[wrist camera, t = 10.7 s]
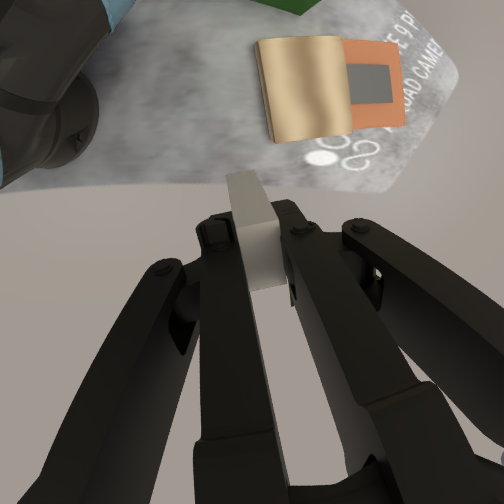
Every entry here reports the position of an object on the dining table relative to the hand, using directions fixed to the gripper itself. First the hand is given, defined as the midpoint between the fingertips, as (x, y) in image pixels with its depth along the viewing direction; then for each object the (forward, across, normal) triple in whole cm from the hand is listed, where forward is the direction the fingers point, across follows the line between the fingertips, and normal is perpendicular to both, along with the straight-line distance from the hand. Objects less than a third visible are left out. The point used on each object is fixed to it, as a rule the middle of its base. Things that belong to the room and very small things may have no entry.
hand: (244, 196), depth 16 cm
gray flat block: (+26, +21, +5) cm, 34 cm away
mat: (+26, +23, +5) cm, 35 cm away
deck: (+26, +12, +5) cm, 29 cm away
